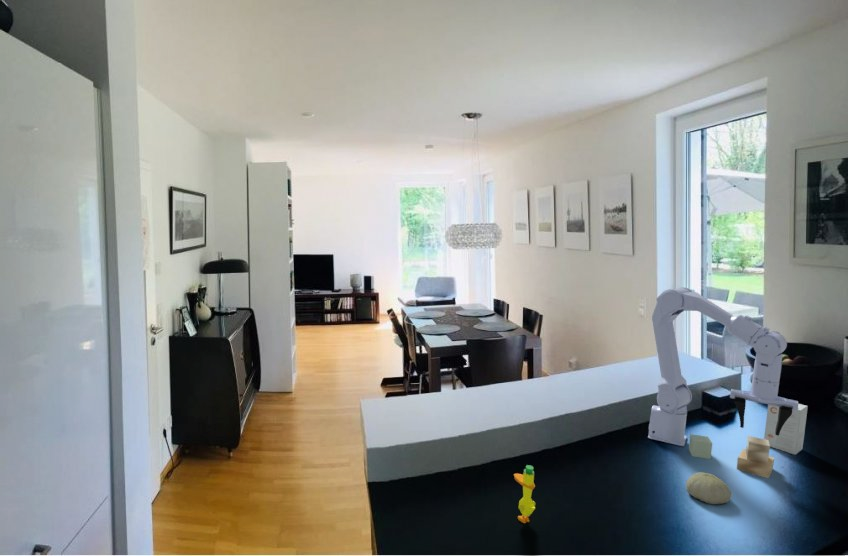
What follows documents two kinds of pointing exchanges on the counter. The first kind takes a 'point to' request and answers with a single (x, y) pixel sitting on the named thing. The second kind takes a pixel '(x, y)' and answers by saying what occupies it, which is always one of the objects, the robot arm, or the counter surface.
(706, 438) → the sage cube
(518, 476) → the toy figure
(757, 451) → the birch cube
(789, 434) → the small box
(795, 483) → the counter surface
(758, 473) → the oak slab
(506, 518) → the counter surface
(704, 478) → the sea urchin shell
